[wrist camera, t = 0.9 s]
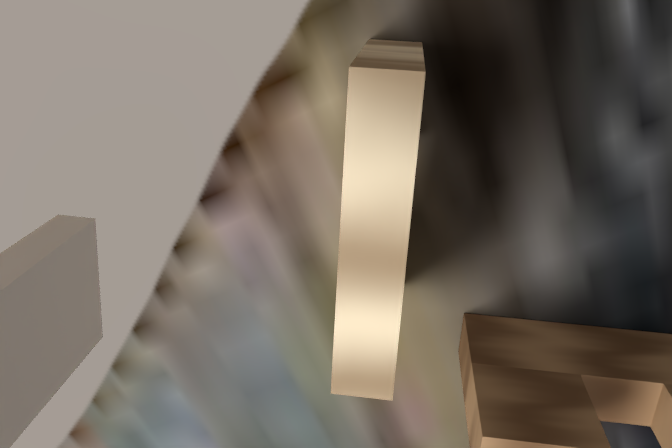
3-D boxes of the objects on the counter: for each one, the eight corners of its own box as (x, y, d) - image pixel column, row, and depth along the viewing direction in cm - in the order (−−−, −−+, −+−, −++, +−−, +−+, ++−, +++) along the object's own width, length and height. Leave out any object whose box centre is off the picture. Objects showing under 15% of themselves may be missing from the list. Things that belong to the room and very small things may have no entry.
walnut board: (729, 339, 33) (851, 479, 24) (715, 378, 34) (828, 528, 25) (464, 313, 34) (482, 436, 25) (458, 351, 35) (474, 484, 26)
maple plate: (369, 39, 30) (349, 66, 20) (421, 42, 29) (425, 71, 20) (353, 281, 34) (330, 393, 25) (398, 286, 34) (392, 400, 25)
